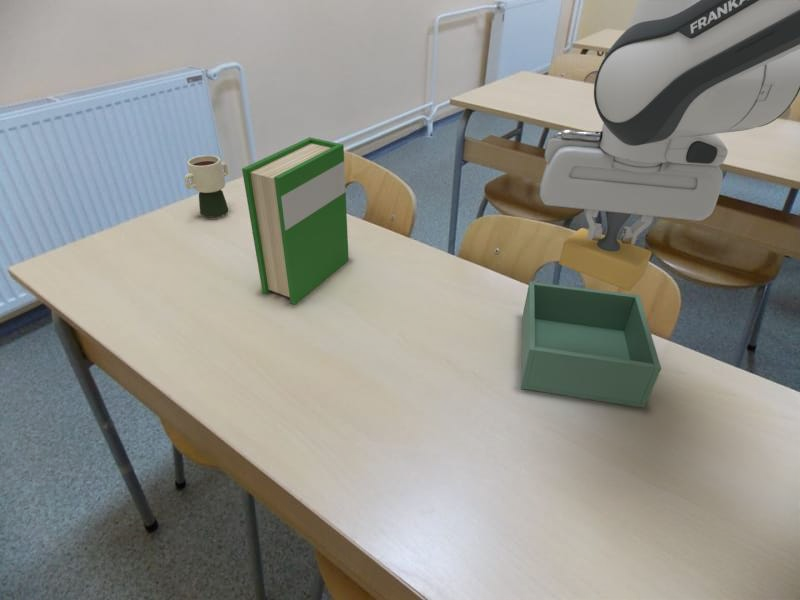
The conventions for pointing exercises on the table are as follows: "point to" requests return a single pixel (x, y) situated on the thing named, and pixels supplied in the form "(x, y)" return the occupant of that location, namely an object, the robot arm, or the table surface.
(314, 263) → the hardback book
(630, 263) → the rubber stamp
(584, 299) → the open box
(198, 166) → the character mug
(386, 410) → the table surface
